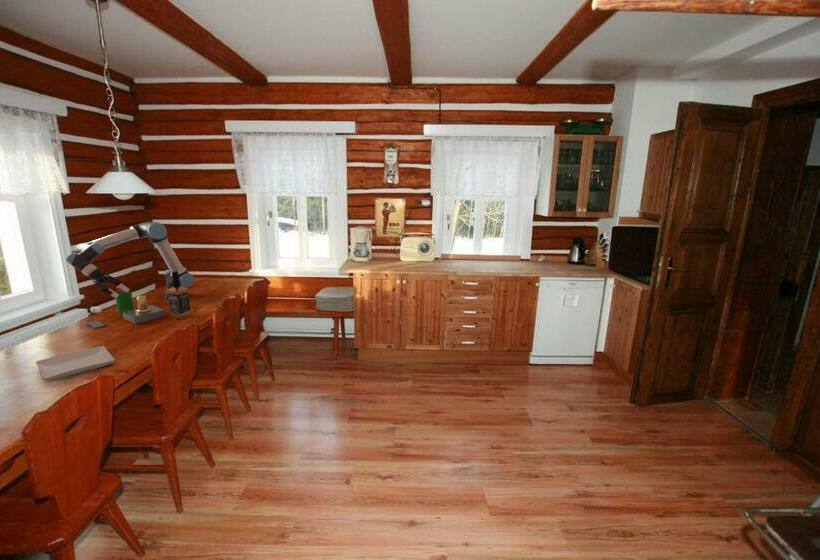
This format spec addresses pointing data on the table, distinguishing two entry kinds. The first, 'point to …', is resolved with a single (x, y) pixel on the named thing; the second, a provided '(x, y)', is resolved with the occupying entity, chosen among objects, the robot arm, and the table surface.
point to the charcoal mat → (96, 324)
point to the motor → (124, 301)
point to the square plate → (74, 363)
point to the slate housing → (144, 315)
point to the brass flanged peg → (142, 304)
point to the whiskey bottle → (178, 299)
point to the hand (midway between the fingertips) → (122, 293)
